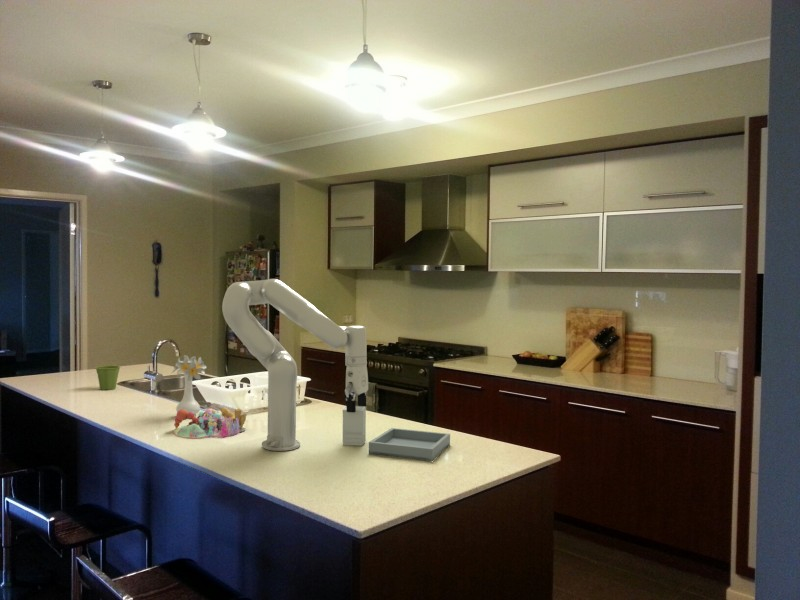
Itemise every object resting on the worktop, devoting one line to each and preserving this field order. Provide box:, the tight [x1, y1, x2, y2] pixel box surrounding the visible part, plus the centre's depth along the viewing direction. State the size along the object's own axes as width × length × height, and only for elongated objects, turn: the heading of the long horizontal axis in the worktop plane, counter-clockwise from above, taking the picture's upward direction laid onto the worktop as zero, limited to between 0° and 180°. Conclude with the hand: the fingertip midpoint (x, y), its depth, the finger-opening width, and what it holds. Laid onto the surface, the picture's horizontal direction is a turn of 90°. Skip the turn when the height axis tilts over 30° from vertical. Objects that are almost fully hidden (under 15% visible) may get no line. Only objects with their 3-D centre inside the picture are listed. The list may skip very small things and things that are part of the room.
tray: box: [368, 427, 451, 462], centre depth 214 cm, size 22×22×4 cm
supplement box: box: [342, 405, 367, 447], centre depth 221 cm, size 7×7×13 cm
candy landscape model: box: [172, 407, 247, 440], centre depth 235 cm, size 25×24×9 cm
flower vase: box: [171, 354, 207, 417], centre depth 258 cm, size 13×18×25 cm
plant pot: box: [94, 365, 121, 391], centre depth 318 cm, size 12×12×11 cm
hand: (356, 409), depth 221 cm, fingers open, 9 cm apart
